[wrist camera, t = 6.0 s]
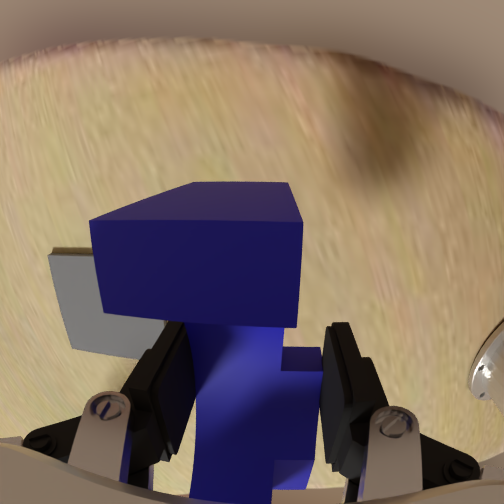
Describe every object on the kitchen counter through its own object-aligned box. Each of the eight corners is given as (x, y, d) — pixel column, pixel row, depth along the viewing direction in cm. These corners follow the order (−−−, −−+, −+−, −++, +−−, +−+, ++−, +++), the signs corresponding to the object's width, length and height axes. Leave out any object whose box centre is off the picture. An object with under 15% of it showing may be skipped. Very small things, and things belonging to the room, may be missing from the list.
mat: (157, 255, 23) (155, 257, 23) (172, 359, 26) (170, 363, 26) (51, 253, 24) (47, 255, 23) (74, 345, 27) (72, 348, 26)
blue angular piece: (303, 441, 13) (306, 545, 7) (213, 436, 13) (189, 537, 8) (335, 184, 9) (413, 227, 4) (193, 182, 10) (88, 220, 4)
